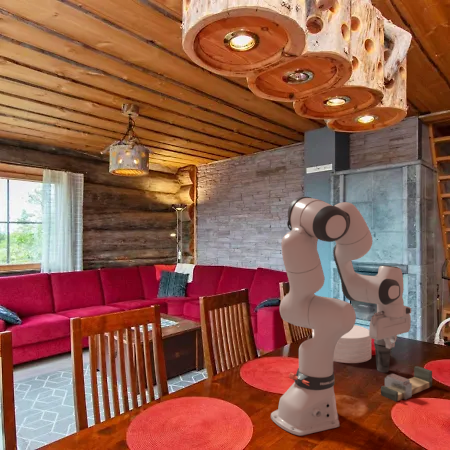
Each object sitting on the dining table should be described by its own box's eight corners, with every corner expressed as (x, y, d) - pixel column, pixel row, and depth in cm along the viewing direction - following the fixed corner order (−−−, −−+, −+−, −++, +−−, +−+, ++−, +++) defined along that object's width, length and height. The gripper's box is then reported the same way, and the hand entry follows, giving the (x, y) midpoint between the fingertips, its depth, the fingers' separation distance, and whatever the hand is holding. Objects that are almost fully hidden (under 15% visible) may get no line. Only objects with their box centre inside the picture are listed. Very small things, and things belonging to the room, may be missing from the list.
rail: (396, 401, 129) (396, 384, 129) (380, 395, 134) (380, 378, 134) (432, 386, 142) (432, 370, 142) (416, 380, 147) (416, 366, 147)
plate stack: (309, 342, 196) (309, 321, 196) (363, 345, 192) (363, 323, 192) (315, 361, 168) (315, 336, 169) (378, 365, 165) (378, 339, 165)
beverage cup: (393, 374, 153) (393, 327, 154) (375, 372, 155) (375, 326, 155) (389, 368, 160) (389, 322, 161) (372, 366, 162) (372, 321, 162)
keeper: (405, 399, 130) (405, 382, 130) (384, 391, 137) (384, 375, 137) (411, 396, 132) (411, 380, 132) (390, 388, 139) (390, 372, 139)
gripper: (380, 315, 124) (380, 355, 124) (414, 308, 135) (414, 345, 135) (364, 311, 129) (364, 350, 129) (398, 305, 140) (398, 340, 140)
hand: (390, 347), depth 132 cm, fingers closed
